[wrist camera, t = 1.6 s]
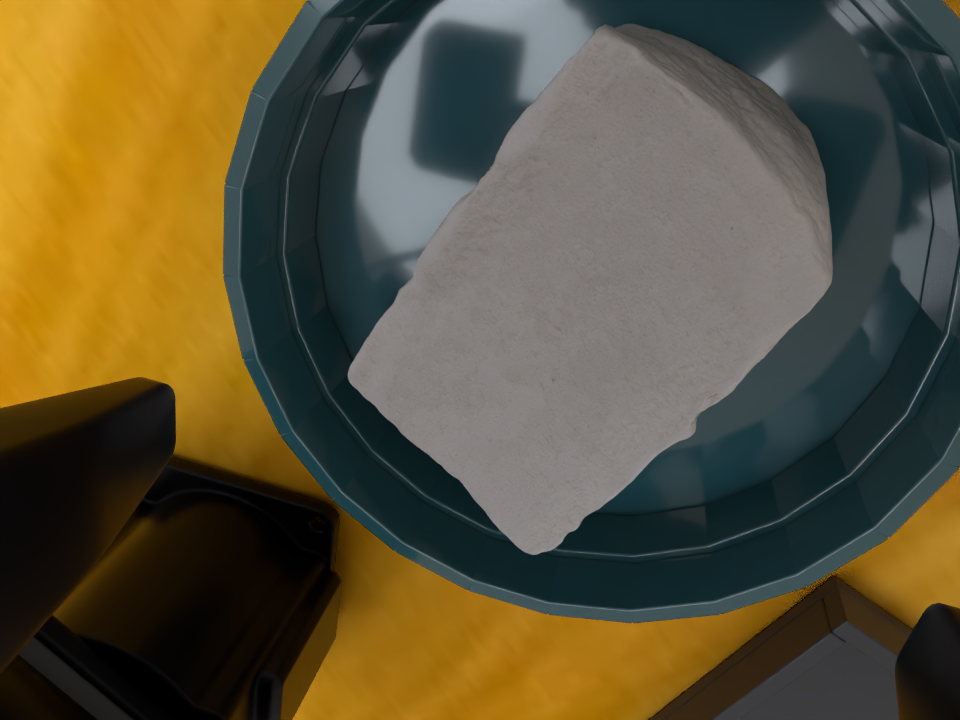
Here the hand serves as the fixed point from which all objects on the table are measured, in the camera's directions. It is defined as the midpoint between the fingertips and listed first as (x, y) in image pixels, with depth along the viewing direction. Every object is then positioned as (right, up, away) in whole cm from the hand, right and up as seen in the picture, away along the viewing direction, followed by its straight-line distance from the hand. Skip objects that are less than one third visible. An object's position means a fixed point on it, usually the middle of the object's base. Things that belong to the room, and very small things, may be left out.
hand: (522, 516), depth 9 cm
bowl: (+2, +4, +8) cm, 9 cm away
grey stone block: (+2, +4, +8) cm, 9 cm away
